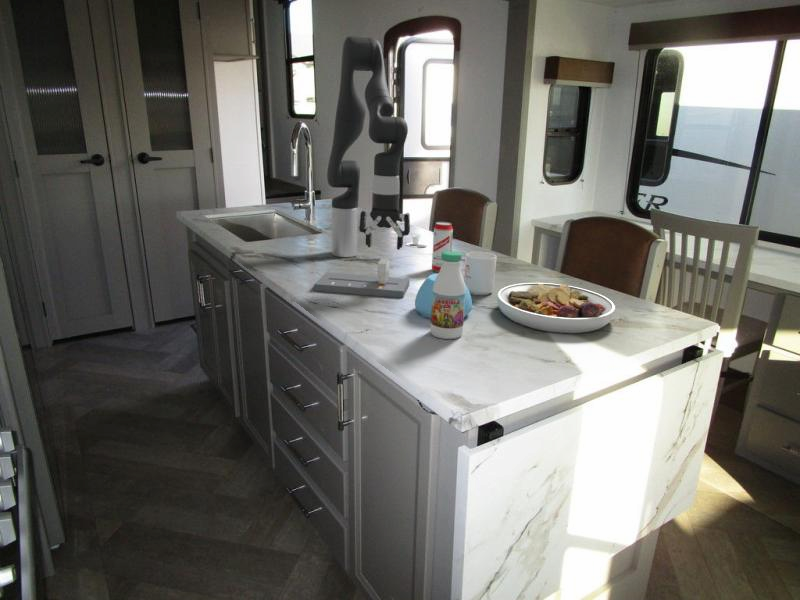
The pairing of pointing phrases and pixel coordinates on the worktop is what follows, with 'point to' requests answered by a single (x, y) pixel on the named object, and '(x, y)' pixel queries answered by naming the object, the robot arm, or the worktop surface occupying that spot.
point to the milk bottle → (448, 298)
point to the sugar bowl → (425, 298)
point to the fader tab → (383, 271)
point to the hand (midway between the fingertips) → (384, 247)
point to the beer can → (441, 243)
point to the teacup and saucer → (416, 241)
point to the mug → (480, 272)
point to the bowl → (555, 307)
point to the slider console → (361, 285)
